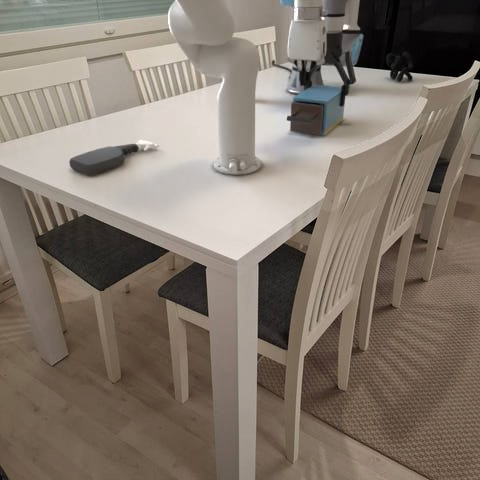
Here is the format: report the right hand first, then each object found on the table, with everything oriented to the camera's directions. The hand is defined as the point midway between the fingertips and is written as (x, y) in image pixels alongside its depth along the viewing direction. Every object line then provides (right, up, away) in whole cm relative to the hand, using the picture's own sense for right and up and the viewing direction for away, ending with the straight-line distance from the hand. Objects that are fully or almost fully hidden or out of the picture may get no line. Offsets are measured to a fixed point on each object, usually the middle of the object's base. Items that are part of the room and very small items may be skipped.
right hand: (324, 103), depth 149 cm
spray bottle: (-63, -23, -24) cm, 71 cm away
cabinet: (-2, -7, -1) cm, 8 cm away
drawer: (-6, -10, -6) cm, 13 cm away
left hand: (-10, -1, -20) cm, 22 cm away
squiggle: (+44, +26, +52) cm, 72 cm away
